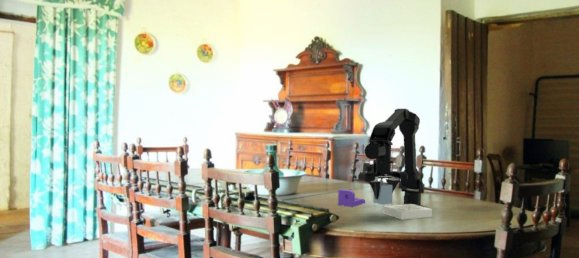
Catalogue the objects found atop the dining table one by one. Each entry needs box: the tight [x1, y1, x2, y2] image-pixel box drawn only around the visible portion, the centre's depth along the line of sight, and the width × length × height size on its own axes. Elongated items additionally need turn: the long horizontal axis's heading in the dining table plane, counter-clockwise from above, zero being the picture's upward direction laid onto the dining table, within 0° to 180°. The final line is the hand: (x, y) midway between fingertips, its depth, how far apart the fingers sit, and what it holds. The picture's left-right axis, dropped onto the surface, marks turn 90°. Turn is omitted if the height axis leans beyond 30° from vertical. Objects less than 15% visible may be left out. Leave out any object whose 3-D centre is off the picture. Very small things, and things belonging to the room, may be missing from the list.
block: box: [373, 183, 393, 205], centre depth 175 cm, size 5×5×7 cm
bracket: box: [337, 189, 366, 208], centre depth 204 cm, size 12×7×7 cm, turn 144°
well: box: [382, 203, 433, 221], centre depth 181 cm, size 14×12×3 cm
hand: (382, 198), depth 175 cm, fingers closed on block, 5 cm apart
